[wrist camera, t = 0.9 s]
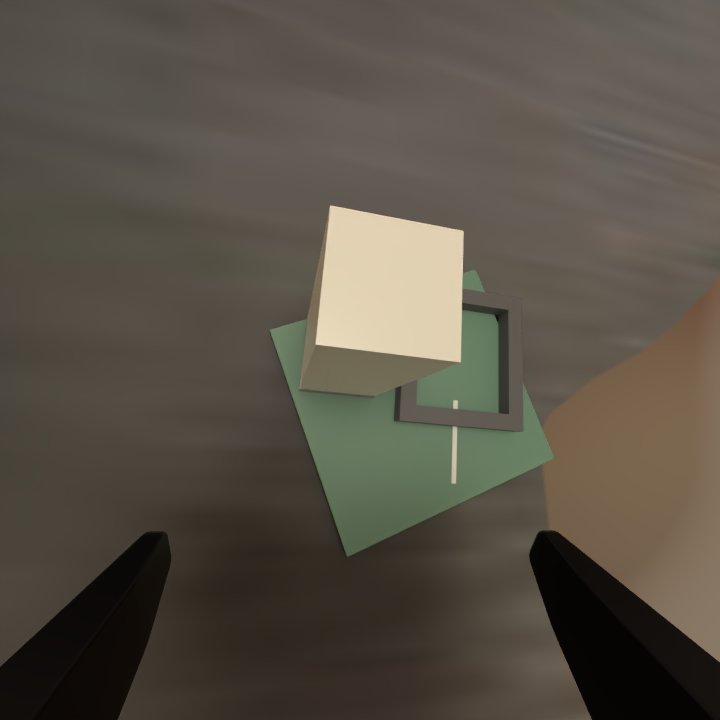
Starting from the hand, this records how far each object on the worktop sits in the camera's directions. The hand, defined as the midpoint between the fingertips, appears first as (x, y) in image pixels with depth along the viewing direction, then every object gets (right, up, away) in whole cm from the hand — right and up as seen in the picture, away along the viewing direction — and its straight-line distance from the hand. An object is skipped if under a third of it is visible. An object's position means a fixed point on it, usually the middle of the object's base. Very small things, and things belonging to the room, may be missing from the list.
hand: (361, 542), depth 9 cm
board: (+4, +2, +16) cm, 16 cm away
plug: (-1, +5, +14) cm, 15 cm away
